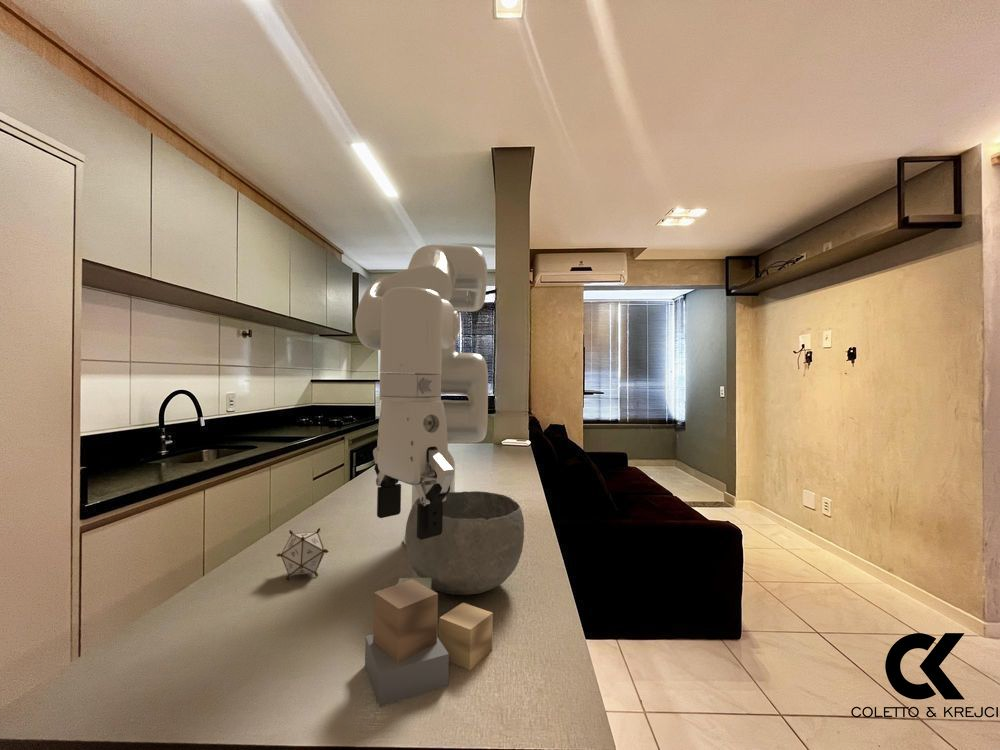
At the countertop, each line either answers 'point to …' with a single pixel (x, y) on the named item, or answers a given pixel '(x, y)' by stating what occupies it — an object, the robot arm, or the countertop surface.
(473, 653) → the oak cube
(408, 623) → the walnut cube
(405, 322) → the robot arm
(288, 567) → the game die
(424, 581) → the sage cube
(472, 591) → the bowl
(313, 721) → the countertop surface
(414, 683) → the base block
